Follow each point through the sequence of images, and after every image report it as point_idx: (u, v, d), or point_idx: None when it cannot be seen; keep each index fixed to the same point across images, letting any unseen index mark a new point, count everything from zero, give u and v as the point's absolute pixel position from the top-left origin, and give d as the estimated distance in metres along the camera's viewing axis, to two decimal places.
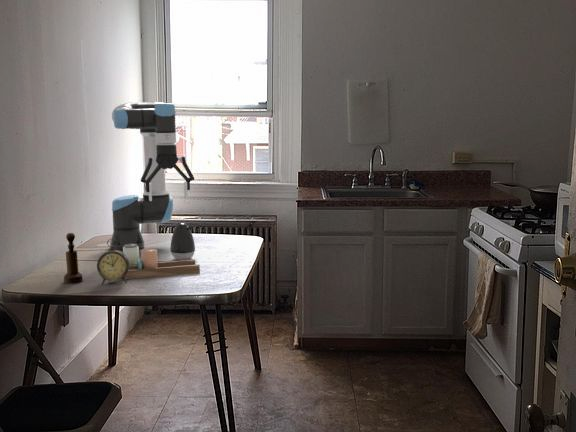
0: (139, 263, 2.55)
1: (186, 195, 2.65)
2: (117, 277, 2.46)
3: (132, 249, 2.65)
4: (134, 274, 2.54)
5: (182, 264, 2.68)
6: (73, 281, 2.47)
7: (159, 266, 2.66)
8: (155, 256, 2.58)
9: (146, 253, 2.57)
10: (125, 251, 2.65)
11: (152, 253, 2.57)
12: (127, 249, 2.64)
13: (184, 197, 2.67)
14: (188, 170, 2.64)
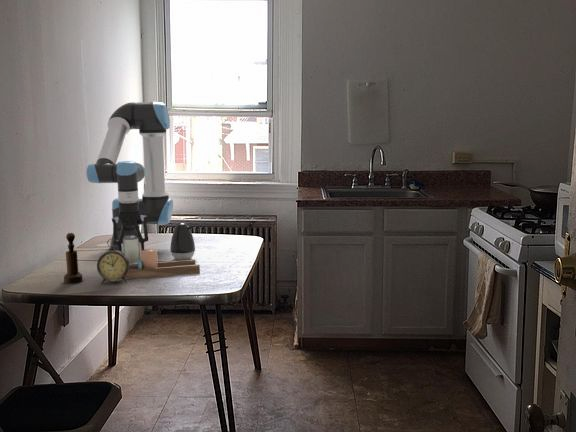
0: (139, 263, 2.55)
1: (140, 256, 2.68)
2: (117, 277, 2.46)
3: (132, 241, 2.65)
4: (134, 274, 2.54)
5: (182, 264, 2.68)
6: (73, 281, 2.47)
7: (159, 266, 2.66)
8: (155, 256, 2.58)
9: (146, 253, 2.57)
10: (125, 243, 2.65)
11: (152, 253, 2.57)
12: (127, 241, 2.64)
13: None
14: (145, 230, 2.67)
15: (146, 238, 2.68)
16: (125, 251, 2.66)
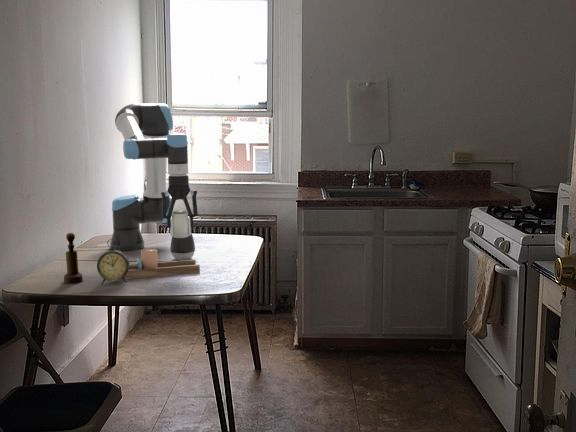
0: (139, 263, 2.55)
1: (189, 231, 2.62)
2: (117, 277, 2.46)
3: (182, 215, 2.58)
4: (134, 274, 2.54)
5: (182, 264, 2.68)
6: (73, 281, 2.47)
7: (159, 266, 2.66)
8: (155, 256, 2.58)
9: (146, 253, 2.57)
10: (174, 217, 2.59)
11: (152, 253, 2.57)
12: (176, 215, 2.58)
13: None
14: (195, 205, 2.61)
15: (195, 213, 2.62)
16: (174, 226, 2.59)
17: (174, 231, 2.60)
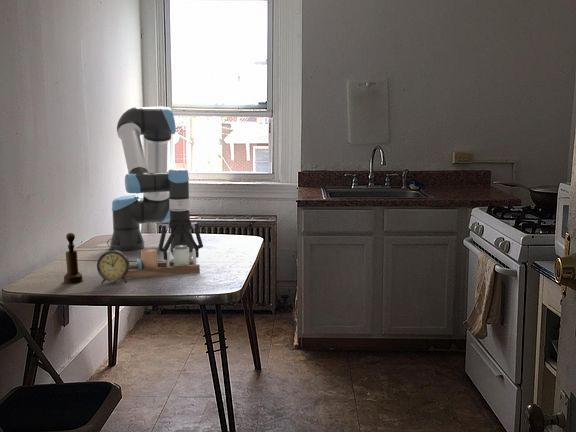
0: (139, 263, 2.55)
1: (195, 263, 2.64)
2: (117, 277, 2.46)
3: (183, 251, 2.61)
4: (134, 274, 2.54)
5: None
6: (73, 281, 2.47)
7: (159, 266, 2.66)
8: (155, 256, 2.58)
9: (146, 253, 2.57)
10: (176, 253, 2.61)
11: (152, 253, 2.57)
12: (178, 251, 2.60)
13: (193, 264, 2.67)
14: (199, 237, 2.63)
15: (201, 245, 2.64)
16: (176, 261, 2.62)
17: None
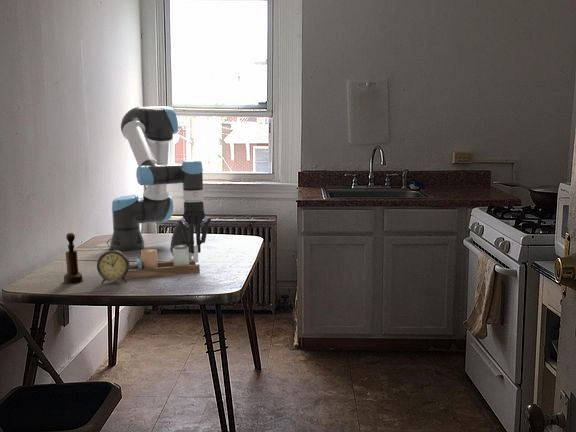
0: (139, 263, 2.55)
1: (197, 258, 2.64)
2: (117, 277, 2.46)
3: (182, 250, 2.60)
4: (134, 274, 2.54)
5: None
6: (73, 281, 2.47)
7: (159, 266, 2.66)
8: (155, 256, 2.58)
9: (146, 253, 2.57)
10: (175, 253, 2.61)
11: (152, 253, 2.57)
12: (177, 251, 2.60)
13: None
14: (205, 232, 2.64)
15: (203, 239, 2.64)
16: (175, 261, 2.61)
17: None
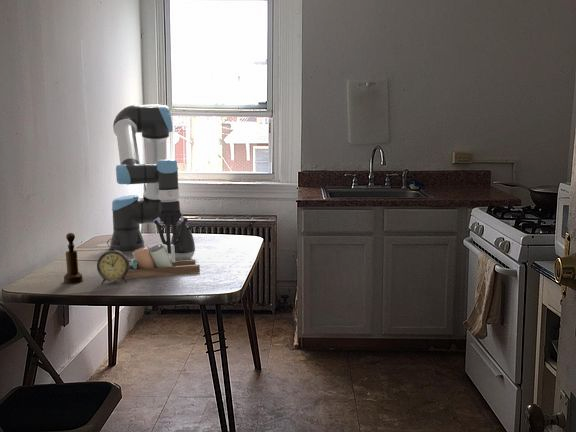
0: (134, 263, 2.55)
1: (174, 258, 2.61)
2: (117, 277, 2.46)
3: (159, 251, 2.57)
4: (134, 274, 2.54)
5: (182, 264, 2.68)
6: (73, 281, 2.47)
7: None
8: (147, 253, 2.57)
9: (137, 253, 2.56)
10: (153, 255, 2.58)
11: (143, 251, 2.56)
12: (154, 253, 2.57)
13: None
14: (181, 232, 2.61)
15: (180, 239, 2.61)
16: (156, 263, 2.59)
17: None
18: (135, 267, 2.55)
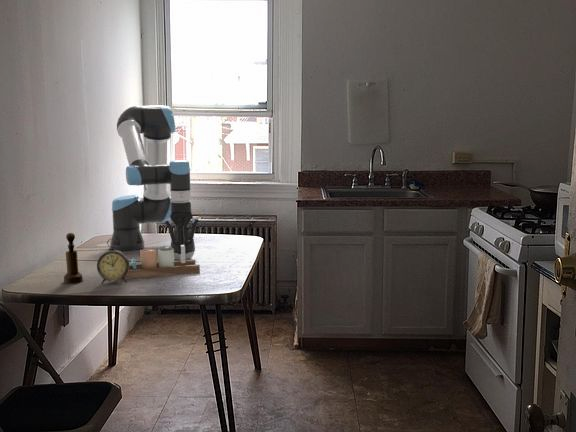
0: (133, 263, 2.55)
1: (184, 259, 2.63)
2: (117, 277, 2.46)
3: (167, 252, 2.59)
4: (134, 274, 2.54)
5: (182, 264, 2.68)
6: (73, 281, 2.47)
7: None
8: (154, 256, 2.58)
9: (145, 253, 2.57)
10: (160, 254, 2.59)
11: (151, 253, 2.57)
12: (162, 252, 2.58)
13: None
14: (192, 233, 2.62)
15: (190, 240, 2.63)
16: (160, 262, 2.60)
17: (160, 267, 2.60)
18: (135, 267, 2.55)
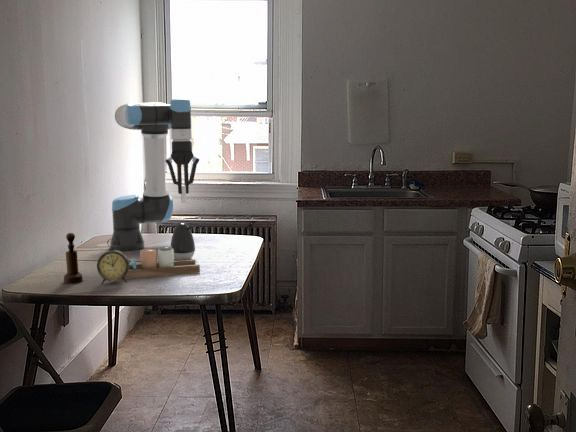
0: (133, 263, 2.55)
1: (185, 198, 2.61)
2: (117, 277, 2.46)
3: (167, 252, 2.59)
4: (134, 274, 2.54)
5: (182, 264, 2.68)
6: (73, 281, 2.47)
7: None
8: (154, 256, 2.58)
9: (145, 253, 2.57)
10: (160, 254, 2.59)
11: (151, 253, 2.57)
12: (162, 252, 2.58)
13: None
14: (193, 172, 2.61)
15: (191, 180, 2.61)
16: (160, 262, 2.60)
17: (159, 267, 2.60)
18: (135, 267, 2.55)
